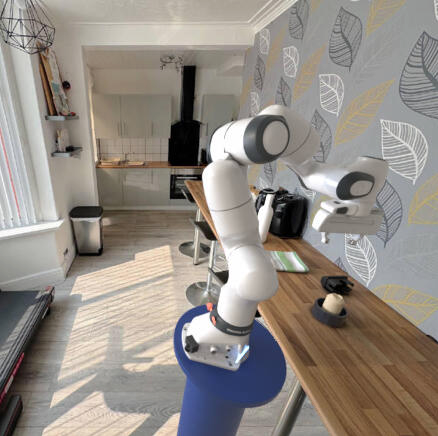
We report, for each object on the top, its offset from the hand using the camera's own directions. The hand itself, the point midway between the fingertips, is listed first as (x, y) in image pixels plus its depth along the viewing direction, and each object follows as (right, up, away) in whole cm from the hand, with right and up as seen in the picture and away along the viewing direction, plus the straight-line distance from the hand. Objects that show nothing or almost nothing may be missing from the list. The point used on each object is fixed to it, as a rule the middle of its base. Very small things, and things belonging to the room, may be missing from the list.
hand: (338, 243), depth 83 cm
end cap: (+18, -24, +25) cm, 39 cm away
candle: (+4, -30, +9) cm, 31 cm away
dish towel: (+3, -15, +44) cm, 46 cm away
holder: (+3, -30, +10) cm, 32 cm away
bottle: (+3, -5, +67) cm, 67 cm away
